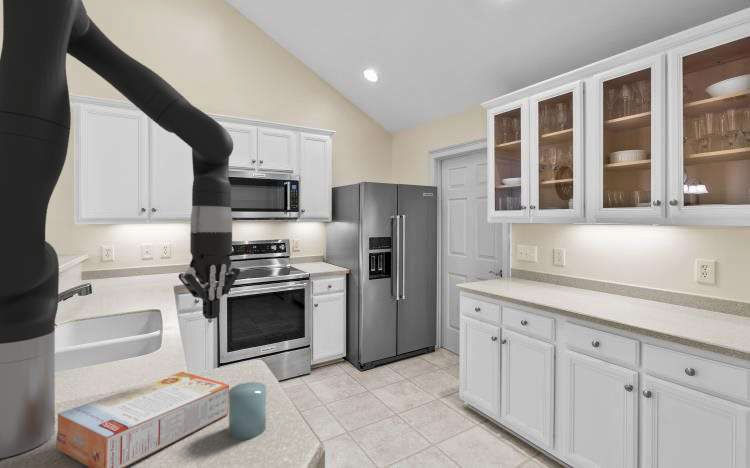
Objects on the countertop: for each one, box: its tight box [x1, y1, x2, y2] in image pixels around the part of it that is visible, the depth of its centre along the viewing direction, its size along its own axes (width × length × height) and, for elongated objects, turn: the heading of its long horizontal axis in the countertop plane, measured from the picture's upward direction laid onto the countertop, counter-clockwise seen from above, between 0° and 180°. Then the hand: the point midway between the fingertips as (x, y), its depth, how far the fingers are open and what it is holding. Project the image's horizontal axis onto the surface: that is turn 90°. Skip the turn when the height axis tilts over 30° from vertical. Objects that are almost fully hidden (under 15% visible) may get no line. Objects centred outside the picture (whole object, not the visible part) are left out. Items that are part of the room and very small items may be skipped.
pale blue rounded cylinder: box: [228, 381, 267, 441], centre depth 63 cm, size 6×6×7 cm
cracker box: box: [56, 371, 230, 468], centre depth 62 cm, size 14×6×21 cm
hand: (211, 317), depth 72 cm, fingers closed
